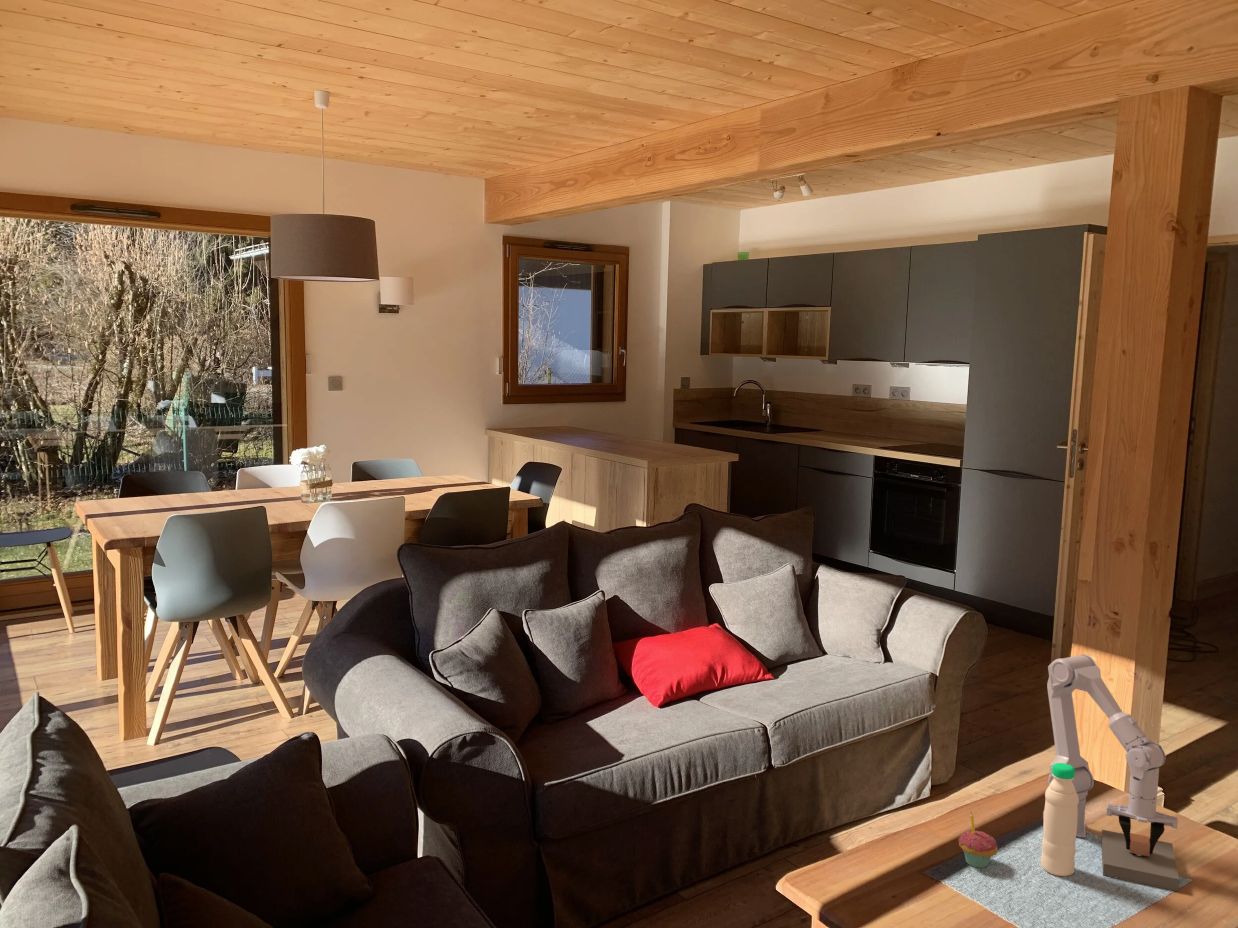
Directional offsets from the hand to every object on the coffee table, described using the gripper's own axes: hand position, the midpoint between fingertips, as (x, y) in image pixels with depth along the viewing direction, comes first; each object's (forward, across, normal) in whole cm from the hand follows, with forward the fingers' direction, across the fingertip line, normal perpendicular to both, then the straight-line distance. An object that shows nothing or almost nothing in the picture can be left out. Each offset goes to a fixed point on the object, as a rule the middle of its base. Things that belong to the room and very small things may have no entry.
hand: (1138, 849), depth 224 cm
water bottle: (+4, -17, -11) cm, 21 cm away
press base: (+4, 0, 0) cm, 4 cm away
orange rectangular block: (+4, 0, 0) cm, 4 cm away
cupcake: (+4, -34, -16) cm, 38 cm away
